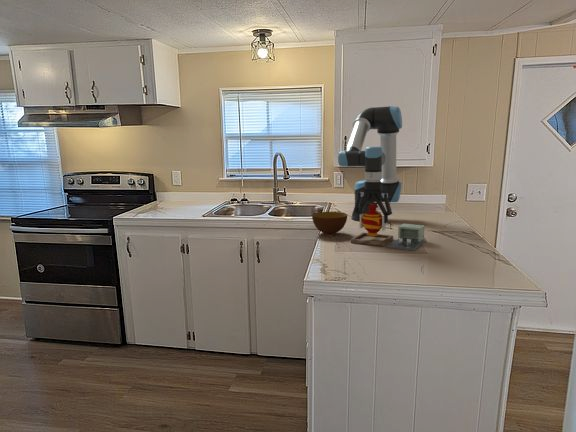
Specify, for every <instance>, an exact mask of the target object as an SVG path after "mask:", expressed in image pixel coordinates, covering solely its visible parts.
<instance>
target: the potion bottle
mask: <svg viewBox="0 0 576 432" xmlns="http://www.w3.org/2000/svg"><path fill="white" fill-rule="evenodd" d="M368 207H369V208H370V211H368V212H367V213H364V215H362V220H361V222H362V225H363V228H364V230H366V231H367V232H366V233H367V235H368V236H377V235H378V234H379V232H380V231H381V230H382V216H383V215H382V212H379V211H378V210H377V208H379V205H378V204H377V202H370V203H369V206H368Z"/></svg>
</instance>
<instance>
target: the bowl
mask: <svg viewBox="0 0 576 432" xmlns="http://www.w3.org/2000/svg"><path fill="white" fill-rule="evenodd" d="M311 218H312V222H313V224H314V226H315V228H316V229H317V230H318V231H319V232H321V233H323V235H324V234H325V235H324V236H327V235H332V236H336V235H337V233H338V232H339V233H340V231H342V229H343V228H344V227H345V226H346V223H347V220H348V214H347V213H345V212H340V211H339V212H338V211H323V212H322V211H320V212H314V213H313V214H311ZM335 234H336V235H335Z"/></svg>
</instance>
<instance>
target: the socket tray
mask: <svg viewBox="0 0 576 432" xmlns="http://www.w3.org/2000/svg"><path fill="white" fill-rule="evenodd" d="M367 233H368V232H362V233H360V234H358V235H356V236H354V237H352V238H351V239H350V243H351V244H356V245H357V244H358V245H365V246H375V247H382V248H383V247H384V246H386V245H387V244H388V243H390V242H392V240H394V235H391V234H379V233H377V234H378V235H377V236H368V235H367Z"/></svg>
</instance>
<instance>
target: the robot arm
mask: <svg viewBox="0 0 576 432" xmlns="http://www.w3.org/2000/svg"><path fill="white" fill-rule="evenodd" d="M402 128H403V118H402V112H401V109H400V107H399V106H379V107H378V106H377V107H376V106H375V107H369V108H366V109H364V110H363V111H360V113H358V115H357V116H356V117H355V118H354V119H353V123H352V131H351V134H350V136H349V140H348V142H347V145H346V148H345V150H341V151H339V152H338V155H337V162H338V165H339V166H340V167H346V168H349V167H353V168H354V167H358V168H359V167H360V168H361V167H363V168H364V179H363V180H360V181H359V180H358V181H357V182H355V184H354V206H353V210H352V214H351V220H353V221H357V222H359V229H363V228H364V227H363V225H362V222H361V220H362V215H364V213H367V212H368V211H370V208H369V207H368V206H369V203H370V202H376V203H377V206H378V208H379V209H380V210H381V214H383V215H382V228H381V231H382V232H383V231H385V230H386V228H387V227H386V226H387V225H386V224H388V221H389V216H391V215H393V211H392V207H391V204H392V203H398V202H399V201H400V197H401V193H402V192H401V191H402V187H403V186H402V183H403V182H401V181H400V178H399V177H397V135H398V134H399V133H400V130H401V129H402ZM371 130H377V133H376V134H378V135H379V141H380V143H379V144H380V146H367V147H365V150H362V149H363V145H364V143H365V139H366V136H367V133H368V132H370V131H371ZM390 203H391V204H390ZM384 204H385V205H384Z"/></svg>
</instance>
